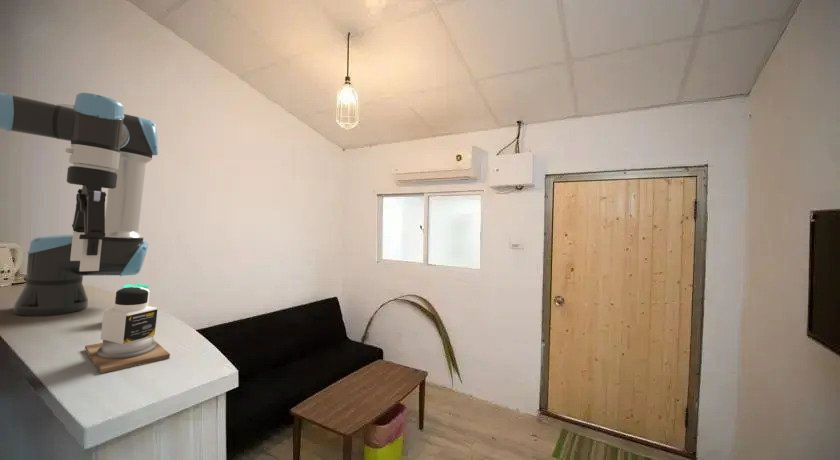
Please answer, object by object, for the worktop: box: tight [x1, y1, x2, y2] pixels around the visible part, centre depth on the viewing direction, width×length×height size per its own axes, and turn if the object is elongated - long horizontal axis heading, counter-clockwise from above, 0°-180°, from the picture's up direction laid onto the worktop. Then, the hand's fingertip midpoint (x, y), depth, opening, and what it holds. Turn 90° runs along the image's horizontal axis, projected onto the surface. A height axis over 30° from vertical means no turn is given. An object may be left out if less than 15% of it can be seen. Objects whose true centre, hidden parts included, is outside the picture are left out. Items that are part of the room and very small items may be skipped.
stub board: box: [84, 336, 171, 374], centre depth 77 cm, size 16×12×4 cm
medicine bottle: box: [100, 287, 158, 345], centre depth 76 cm, size 7×7×12 cm
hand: (83, 265), depth 69 cm, fingers open, 13 cm apart
